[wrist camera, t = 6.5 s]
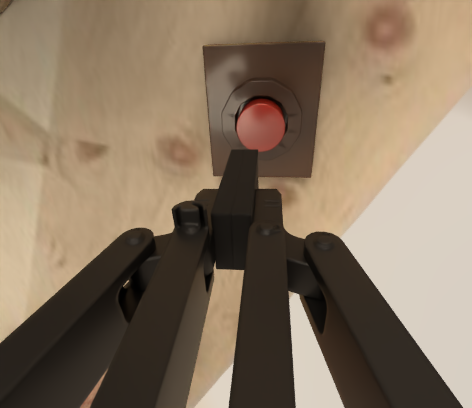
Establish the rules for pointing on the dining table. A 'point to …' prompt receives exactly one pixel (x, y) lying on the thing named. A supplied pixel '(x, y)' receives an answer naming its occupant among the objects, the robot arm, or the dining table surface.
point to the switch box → (265, 87)
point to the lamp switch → (261, 125)
